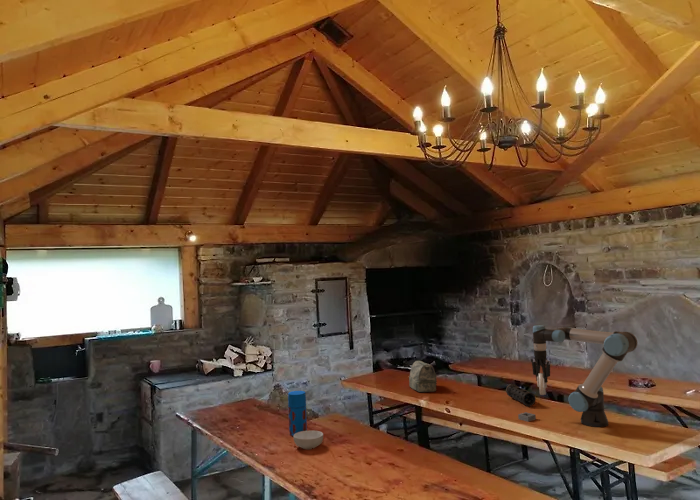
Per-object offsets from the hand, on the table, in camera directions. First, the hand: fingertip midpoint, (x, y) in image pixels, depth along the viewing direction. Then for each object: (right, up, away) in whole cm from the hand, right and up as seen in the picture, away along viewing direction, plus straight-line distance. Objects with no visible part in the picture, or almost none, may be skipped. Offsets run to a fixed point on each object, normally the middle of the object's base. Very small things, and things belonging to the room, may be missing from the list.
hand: (542, 387), depth 324 cm
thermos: (-154, -26, -10) cm, 156 cm away
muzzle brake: (0, -22, +42) cm, 47 cm away
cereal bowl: (-145, -25, -34) cm, 151 cm away
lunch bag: (-62, -27, +92) cm, 114 cm away
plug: (0, -4, 0) cm, 4 cm away
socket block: (-9, -21, +1) cm, 23 cm away
